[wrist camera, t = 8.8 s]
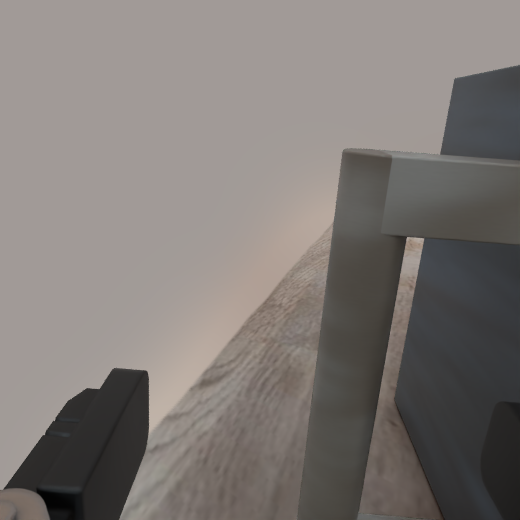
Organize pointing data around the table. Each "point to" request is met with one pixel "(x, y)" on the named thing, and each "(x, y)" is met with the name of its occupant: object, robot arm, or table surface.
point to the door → (423, 306)
